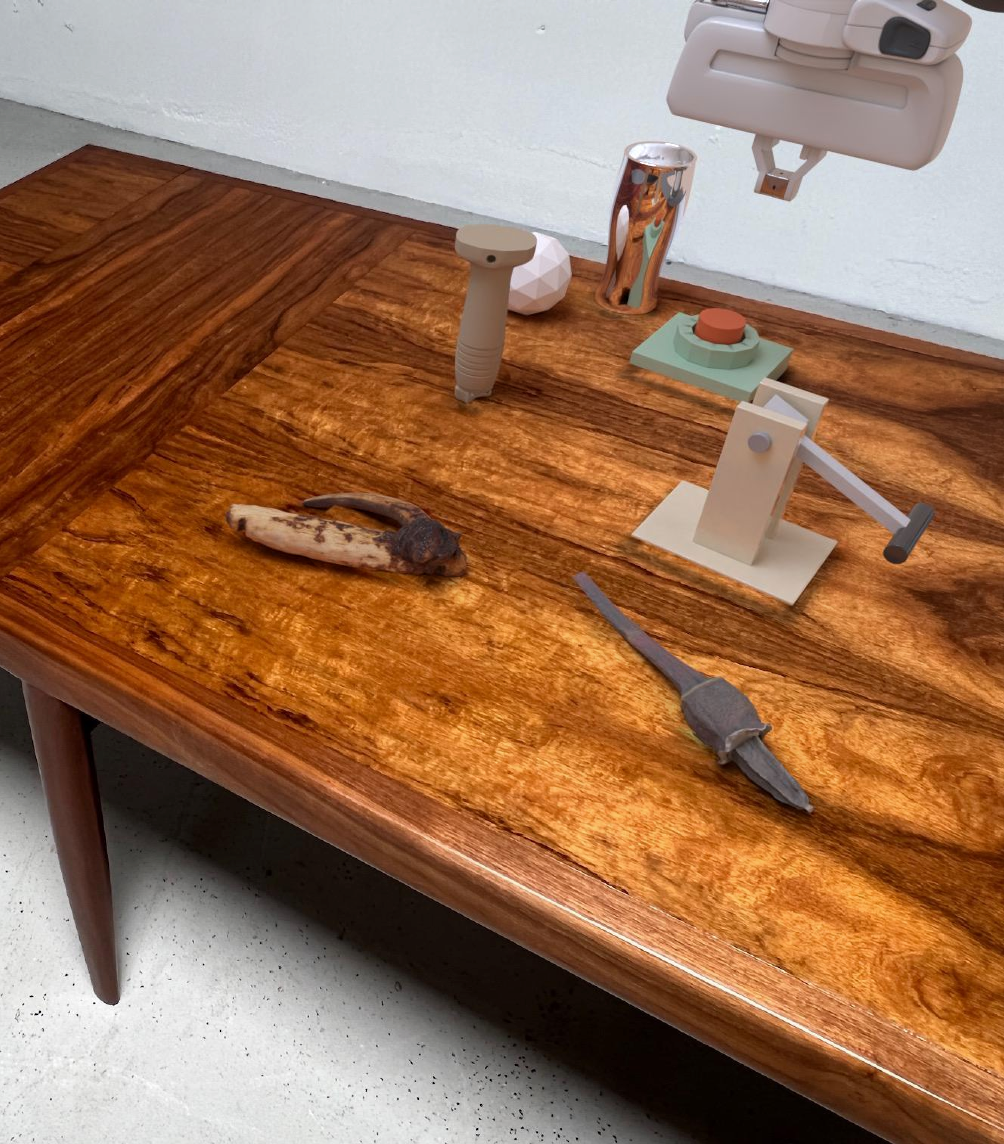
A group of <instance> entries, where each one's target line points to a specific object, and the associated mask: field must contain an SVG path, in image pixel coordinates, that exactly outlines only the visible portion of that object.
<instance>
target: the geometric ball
mask: <svg viewBox="0 0 1004 1144" xmlns="http://www.w3.org/2000/svg"><path fill="white" fill-rule="evenodd" d="M531 233H533V234H534V235H535V236H536V238H537V244H536V250H535V254H534V257H533V259H532V260H531V261H529V262H528V263H526V264H524V265H520V266H517V267H515V268H514V269H513V273H512V276H511V283H510V292H509V301H508V310H507V311H512V312H514V313H517V314H520V315H525V316H530V315H534V314H538V313H541V312H546V311H549V310H550V309H552V308H553V307H554V306H555V305H557V304H558V303H559V302H560V301H561V300H563V299H564V298H565V296H566V295H567V294H566V293H567V290H568V287H569V284H570V281H571V279H572V274H573V273H572V267H571V266H572V265H571V259H570V254H569V253H568V251H567V250H566V248H564V246H563V245H562V243H560V242H559V240H558V239H557V238H556V237H553V236H550V235H547V234H543V233H541V232H537V231H533V232H531Z"/></svg>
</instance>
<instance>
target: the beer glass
mask: <svg viewBox="0 0 1004 1144" xmlns="http://www.w3.org/2000/svg"><path fill="white" fill-rule="evenodd" d="M697 161H698V155H697V154H696V153H695V151H693V150H692V149H690V148H688V147H686V146H683V145H680V144H676V143H673V142H666V141H658V140H657V141H655V140H652V141H651V140H646V141H645V140H644V141H638V142H633V143H631V144H628V145H626V147H625V148H624V150H623V155H622V158H621V161H620V164H619V168H618V172H617V175H616V178H615V182H614V186H613V190H612V195H611V200H610V205H609V216H608V231H607V232H608V234H607V255H606V256H607V257H606V262H605V267H604V270H603V274H602V277H601V279H600V281H599V283H598V286H597V288H596V291H595V293H594V300H595V302H596V303H597V305H599V306H600V307H601V308H603V309H605V310H607V311H610V312H612V313H616V314H620V315H626V316H627V315H629V316H636V315H637V316H638V315H644V314H647V313H650V312H652V311H653V310H655V308H656V307H657V304H658V296H659V283H660V277H661V273H662V269H663V266H664V264H665V261H666V259H667V256H668V254H669V252H670V250H671V248H672V245H673V243H674V241H675V239H676V237H677V235H678V232H679V230H680V228H681V226H682V222H683V220H684V217H685V214H686V211H687V208H688V205H689V201H690V197H691V193H692V189H693V182H694V176H695V170H696V165H697Z"/></svg>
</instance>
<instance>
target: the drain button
mask: <svg viewBox="0 0 1004 1144" xmlns="http://www.w3.org/2000/svg"><path fill="white" fill-rule="evenodd" d="M698 315H699V317H698V321H697V324H696V328H695V331H694V334H695V335H696V336H697V337H699V338H700V339H701V340H704V341H707V342H710V343H713V344H721V345H732V344H737V343H739V342H740V341H741V338H742V335H743V332H744V329H745V326H746V324H747V320H746V318H745V317H744V316H743V315H742V314H740V313H738V312H736V311H734V310H730V309H727V308H719V307H712V308H706V309H704V310H701V312H700V313H699V314H698Z"/></svg>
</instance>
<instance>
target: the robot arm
mask: <svg viewBox="0 0 1004 1144" xmlns="http://www.w3.org/2000/svg"><path fill="white" fill-rule="evenodd" d="M960 1H961V2H963V3H964V4H966V5H968V6H971V7H972V8H975V9H977V10H981V11H986V12H990V13H996V14H997V13H998V14H1004V0H960ZM972 26H973V19H972V17H971V16H970V15H969V14H968V13H967V12H965V11H963V10H962V9H960V8H958V7H956V6H954V5H952V4H951V3H949V2H947V1H945V0H710V1H706V0H694V2H692V5H691V6H690V7H689V11H688V14H687V18H686V22H685V26H684V29H683V30H684V32H683V37H684V41H685V44H684V46H683V49H682V51H681V53H680V55H679V58H678V61H677V64H676V66H675V69H674V72H673V74H672V77H671V80H670V83H669V86H668V90H667V94H666V98H665V100H666V103H667V106H668V109H669V111H670V113H671V115H673V116H676V117H680V118H684V119H689V120H694V121H697V122H702V123H706V124H711V125H715V126H719V127H723V128H728V129H731V130H737V131H740V132H744V133H749V134H753V135H754V137H753V138H754V139H753V142H752V145H751V151H752V154H753V158H754V162H755V166H756V170H757V172H758V176H757V178H756V182H755V185H754V187H753V188H754V189H753V193H755V194H759V195H763V196H766V197H771V198H774V199H777V200H781V201H786V202H789V203H791V202H792V201H793V200H794V199H795V198H796V197H797V195H798V193H799V190H800V187H801V184H802V181H803V179H804V177H805V176H806V175H807V174H808V173H809V172H810V171H812V169H813V168H815V167H816V166H817V165H818V164H819V163H820V162H821V161H822V160H823V159H825V157H826V156H827V154H828V152H830V153H835V154H838V155H843V156H848V157H851V158H856V159H860V160H864V161H869V162H873V163H878V164H882V165H885V166H890V167H895V168H898V169H903V170H906V171H919V170H920V169H922V168H924V167H925V166H927V165H928V164H930V163H931V162H933V161H934V160H935V159H936V158H937V157H938V156H939V155H940V153H942V150H943V148H944V147H945V144H946V141H947V139H948V137H949V134H950V130H951V128H952V125H953V122H954V118H955V116H956V112H957V108H958V105H959V101H960V96H961V93H962V88H963V82H964V67H963V63H962V60H961V59H960V57H959V55H957V53H956V52H957V51H959V50H960V49H961V47H963V45H964V43H965V42H966V40H967V38H968V37H969V34H970V32H971V29H972ZM780 141H783V142H787V143H792V144H796V145H799V146H800V145H801V146H802V147H801V151H800V153H799V159H800V160H802V161H805V162H803V164H801V165H800V166H799V167H798V168H797V169H796V170H795V171H791V170H786V169H781V168H778V167H776V161H775V158H774V157H775V156H774V151H773V148H774V147H775V146H777V145H778V144H780Z"/></svg>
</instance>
